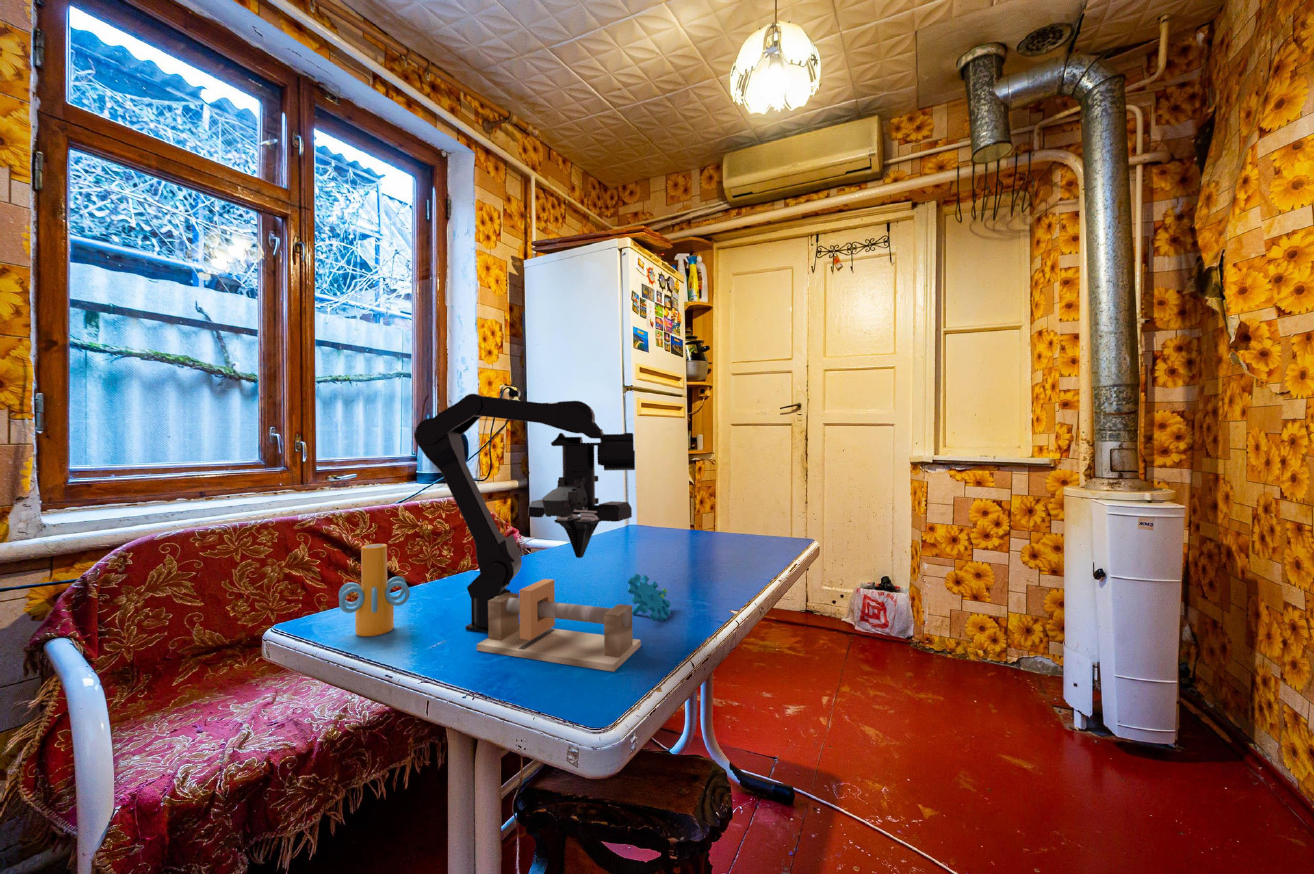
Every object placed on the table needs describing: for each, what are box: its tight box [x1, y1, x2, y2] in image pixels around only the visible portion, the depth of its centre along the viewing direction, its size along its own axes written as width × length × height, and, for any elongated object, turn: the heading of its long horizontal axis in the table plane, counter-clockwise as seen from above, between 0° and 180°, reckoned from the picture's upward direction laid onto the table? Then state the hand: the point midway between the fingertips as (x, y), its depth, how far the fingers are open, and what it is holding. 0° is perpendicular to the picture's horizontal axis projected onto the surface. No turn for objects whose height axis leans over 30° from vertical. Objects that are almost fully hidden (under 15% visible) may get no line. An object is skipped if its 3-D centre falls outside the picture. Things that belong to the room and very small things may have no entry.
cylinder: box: [338, 543, 411, 637], centre depth 94 cm, size 12×10×15 cm
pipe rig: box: [476, 592, 642, 672], centre depth 85 cm, size 24×10×7 cm, turn 69°
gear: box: [627, 573, 672, 622], centre depth 101 cm, size 11×6×10 cm
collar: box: [519, 578, 556, 640], centre depth 87 cm, size 2×7×8 cm, turn 160°
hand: (579, 557), depth 96 cm, fingers closed
